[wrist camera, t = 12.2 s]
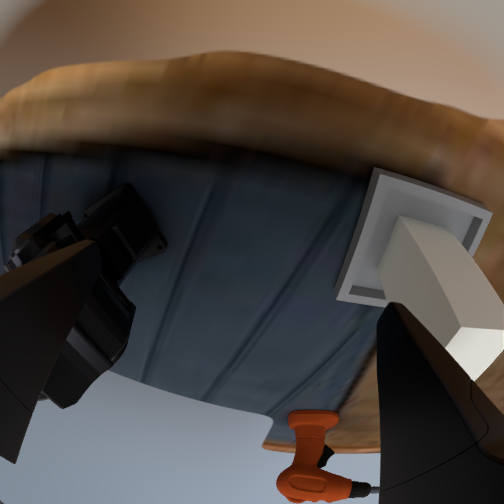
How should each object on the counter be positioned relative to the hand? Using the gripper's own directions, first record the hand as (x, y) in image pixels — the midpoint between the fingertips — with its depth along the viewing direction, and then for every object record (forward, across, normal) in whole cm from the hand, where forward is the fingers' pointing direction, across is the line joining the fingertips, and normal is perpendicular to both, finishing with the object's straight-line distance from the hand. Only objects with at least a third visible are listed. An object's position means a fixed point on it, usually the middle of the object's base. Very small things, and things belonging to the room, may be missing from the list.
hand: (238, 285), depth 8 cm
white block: (+12, -12, +4) cm, 18 cm away
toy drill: (+13, -18, +34) cm, 40 cm away
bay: (+13, -12, +4) cm, 18 cm away
